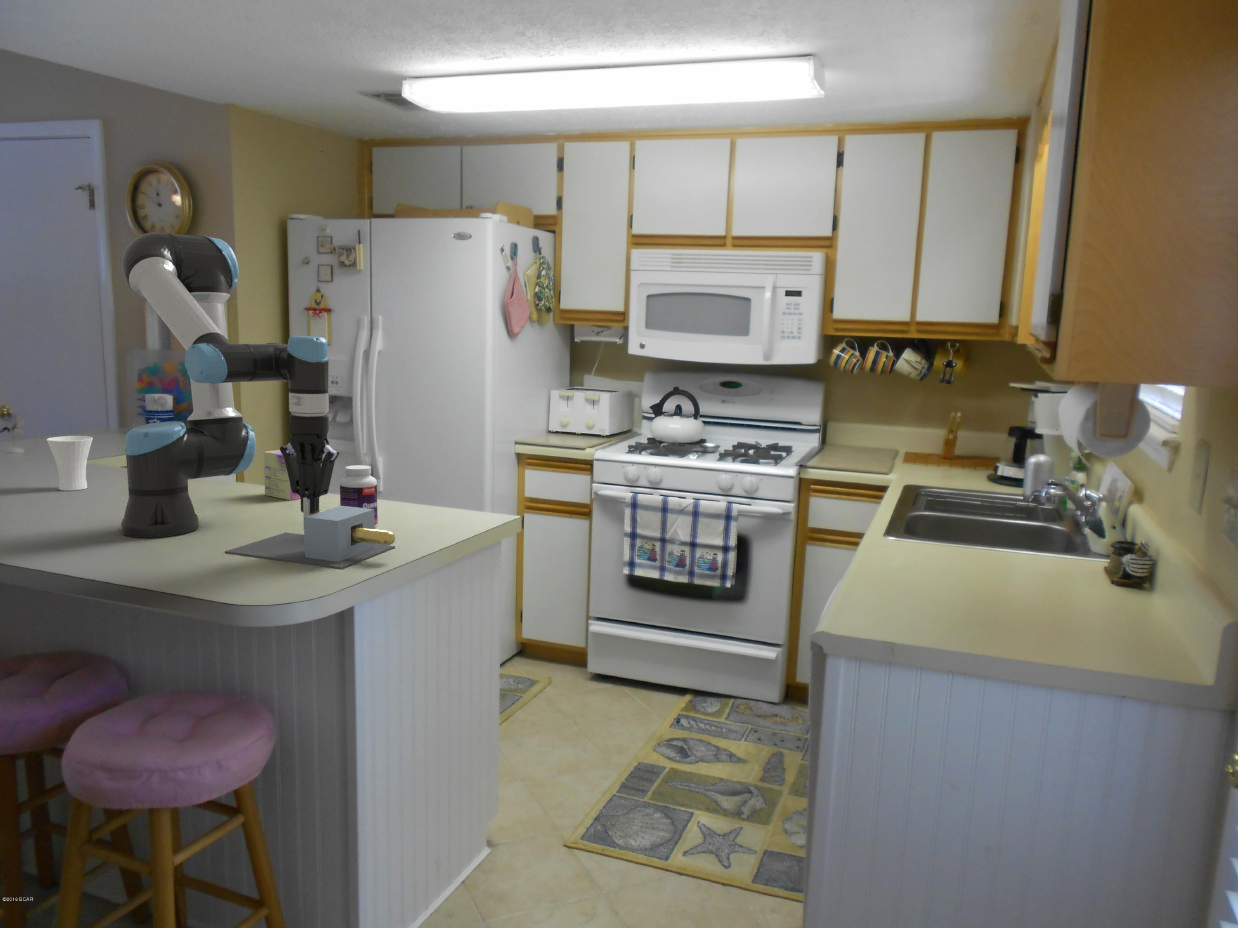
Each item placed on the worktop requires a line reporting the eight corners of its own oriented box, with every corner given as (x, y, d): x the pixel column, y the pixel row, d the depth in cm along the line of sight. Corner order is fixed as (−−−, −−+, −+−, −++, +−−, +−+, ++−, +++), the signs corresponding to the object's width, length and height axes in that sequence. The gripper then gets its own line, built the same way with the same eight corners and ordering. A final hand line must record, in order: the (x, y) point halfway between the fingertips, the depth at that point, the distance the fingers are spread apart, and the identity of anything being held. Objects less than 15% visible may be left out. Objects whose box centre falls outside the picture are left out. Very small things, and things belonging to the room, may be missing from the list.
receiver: (304, 558, 178) (303, 516, 176) (342, 545, 189) (341, 505, 188) (338, 563, 175) (337, 520, 174) (374, 549, 186) (374, 509, 185)
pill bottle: (367, 535, 198) (366, 471, 196) (333, 532, 199) (332, 468, 197) (384, 527, 206) (383, 465, 203) (351, 524, 207) (350, 463, 205)
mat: (225, 552, 180) (224, 551, 180) (285, 533, 197) (285, 532, 197) (342, 568, 171) (342, 567, 171) (395, 547, 188) (395, 546, 188)
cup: (80, 493, 233) (77, 441, 231) (40, 491, 233) (37, 440, 231) (104, 485, 244) (101, 436, 242) (66, 484, 244) (62, 435, 242)
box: (308, 497, 236) (307, 453, 234) (290, 500, 232) (288, 455, 230) (282, 492, 242) (281, 449, 240) (264, 495, 237) (263, 451, 235)
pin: (305, 552, 180) (304, 514, 179) (330, 543, 187) (329, 507, 186) (382, 562, 174) (382, 523, 173) (405, 553, 181) (404, 515, 180)
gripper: (270, 413, 178) (272, 528, 182) (323, 417, 174) (324, 535, 178) (295, 410, 185) (297, 521, 189) (347, 414, 181) (347, 528, 185)
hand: (310, 528), depth 183 cm, fingers closed
